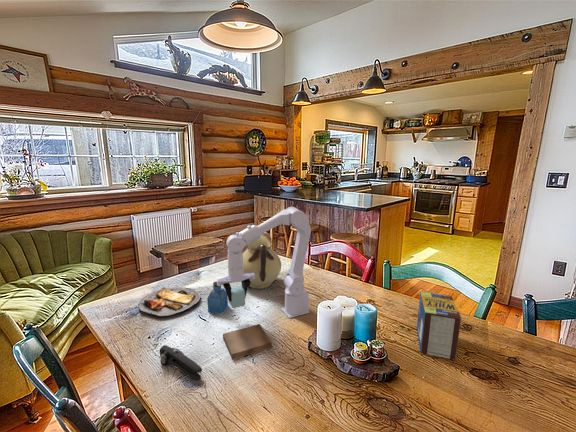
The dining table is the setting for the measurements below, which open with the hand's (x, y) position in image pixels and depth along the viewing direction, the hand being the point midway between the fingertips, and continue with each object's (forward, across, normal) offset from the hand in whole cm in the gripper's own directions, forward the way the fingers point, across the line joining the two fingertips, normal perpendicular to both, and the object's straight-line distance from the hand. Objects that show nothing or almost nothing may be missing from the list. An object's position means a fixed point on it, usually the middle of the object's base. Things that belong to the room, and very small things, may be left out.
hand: (236, 299), depth 112 cm
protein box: (+10, -58, +44) cm, 73 cm away
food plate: (+10, +23, -26) cm, 36 cm away
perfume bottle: (+10, +5, -12) cm, 16 cm away
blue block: (+2, 0, 0) cm, 2 cm away
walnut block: (+10, +1, +15) cm, 18 cm away
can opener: (+10, +23, +17) cm, 31 cm away
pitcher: (+10, -20, -27) cm, 35 cm away
